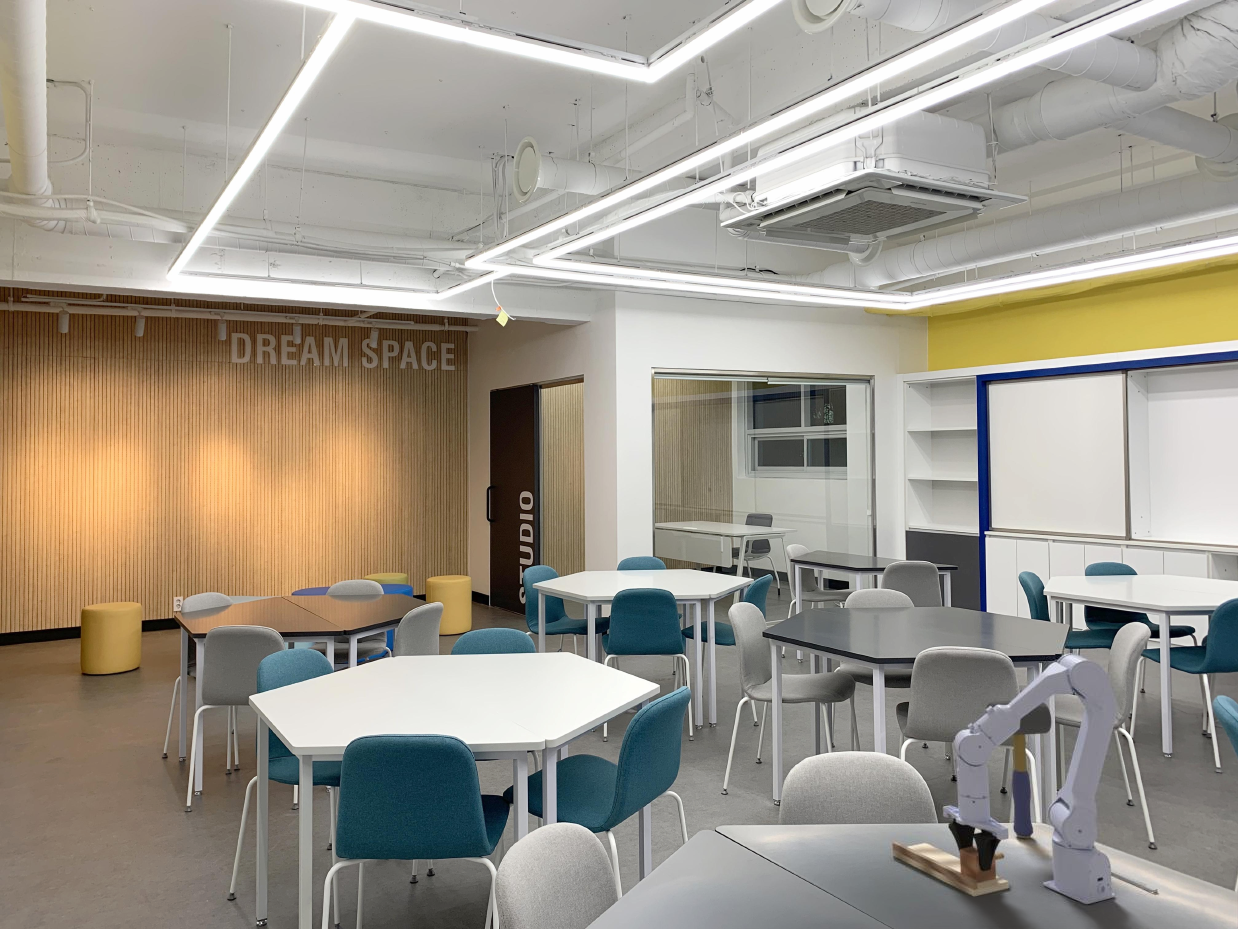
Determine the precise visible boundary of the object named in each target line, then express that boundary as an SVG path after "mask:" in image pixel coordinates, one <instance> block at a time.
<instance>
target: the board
mask: <svg viewBox="0 0 1238 929" xmlns="http://www.w3.org/2000/svg"><path fill="white" fill-rule="evenodd" d="M892 856H893V857H895V858H897V859H898V860H901V861H903V862H905V863H906V864H909V865H910V866H913V867H914V868H916V869H919V870H920V871H923V872H925V873H926V874H928V875H930V876H933V877H935V878H937V879H938V880H941V882H944V883H946V884H949V885H950V886H953V887H954V888H956V889H958V890H960V891H962V892H964V893H966V894H968V895H970V896H972V897H977V896H982V895H986V894H990V893H994V892H999V891H1002V890H1006V889H1007V890H1008V889H1009V888H1010V882H1009V880H1006V879H1005V878H1002V877H1000V876H998V875H996V879H992V880H988V881H984V882H980V883H977V880H975V879H972V878H970V877H968V876H966V875H964V874H962V873H961V867H960V857H957V856H954V855H952V854H950V853H948V852H946V851H944V850H942V849H940V848H937V847H935V846H933V845H931V844H929V843H926V842H923V843H919V844H914V845H909V846H906V845H904V844H901V843H900V842H897V841H892Z"/></svg>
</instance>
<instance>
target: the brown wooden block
mask: <svg viewBox="0 0 1238 929" xmlns="http://www.w3.org/2000/svg"><path fill="white" fill-rule="evenodd" d="M1004 858H1005V855H1004V853H1003V852H1001V853H999V852H998V853H995V854H994V857H993V861H992V865H991V870H987V871H981V870H980V866H979V857H978V850H977V846H976V845H973V846H972V847H968V848H963V849H960V852H959V859H960V867H961V873H962V874H964V875H966V876H968V877H970V878H972V879H975V880H977V883H980V882H984V881H988V880H992V879H996V876H997V870H996V867H997V866H996V865H997V864H996V861H997V860H1002V859H1004Z"/></svg>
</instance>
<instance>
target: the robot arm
mask: <svg viewBox="0 0 1238 929" xmlns="http://www.w3.org/2000/svg"><path fill="white" fill-rule="evenodd" d="M1111 682H1112V678H1111V676H1110V675H1109V674H1108V673H1107V672H1106V670H1105V669H1104V668H1103V667H1102V666H1101V665H1100V664H1099V663H1097V662H1096V661H1093V660H1089V659H1087V658H1085V657H1084V656H1082V655H1080V654H1078V653H1074V652H1073V653H1072V652H1071V653H1066V654H1064V655H1061V656H1060V657H1059V658H1058V660H1057V662H1056V661H1054V662H1052V663H1051V664H1049V665H1048V666H1047V668H1046V669H1044V670H1043V672H1042V673H1040V674H1039V675H1038V676H1037V677H1036V678H1035V679H1034V680H1032V681H1031V683H1030V684H1028V686H1026V687H1025V688H1024V689H1023V690H1022V691H1021V692H1020V693H1019V694H1018V695H1017V696H1016V697H1014V698H1013V699H1011V700H1012V701H1011V702H1010V703H1009V704H1008V705H996V706H995V707H994V708H992V707H991V706H989V707H988V708H987V709H986V708H985V714H984V715H983V716H981V717H980V718H979V719H978V720H977V721H975V722H974V723H972V722H971V723H969V724H968V725H967V728H968V729H967V728H966V729H962V730H960V731H959V732H957V733H956V735H955V737H954V738H955V739H953V741H952V747H953V748H954V751H955V752H956V754H957V755H956V759H957V760H956V766H957V768H956V779H957V780H956V782H957V807H955V806H953V805H946V806H943V807H942V815H943V817H944V818H948V819H949V818H950V819H953V820H952V822H951V823H950V822H949V823H948V824H947V826H948V829H949V831H950V833H951V834H952V836H953V837H954V841H955V843H956V846H957V848H958V853H960V849H963V848H968V847H972V846H974V842H975V846H977V850H978V857H979V866H980V870H981V871H987V870H991V865H992V861H993V857H994V854H996V850H997V849H998V846H999V844H1000V842H1001V841H1003V840H1007V839H1009V828H1008V827H1006V826H1004V825H1002V824H1000V822H998V821H996V820H995V819H993V818H992V817H991V807H990V805H991V804H990V788H989V787H990V785H989V781H990V780H989V771H988V762H989V761H990V759H991V757H992V750H995V749H996V748H997V747H998V748H999V746H1000V745H1002V744H1003V743H1004V742H1005V741H1006V740H1007V739H1009V738H1010V737H1011V736H1013V734H1014V733H1015V732H1016V731H1017V730H1018V729H1019V728H1020V719H1021V718H1022V717H1024V716H1025V715H1026V714H1028V713H1029V712H1030V711H1032V710H1033V709H1035V708H1036V707H1037V706H1039V705H1040V704H1041V703H1043V702H1044V703H1045V701H1047V700H1049V699H1050V698H1051V697H1052V696H1054V695H1073V694H1074V693H1075V695H1076V696H1077V697H1078V699H1079V701H1080V702H1081V703H1082V705H1083V706H1084V712H1083V715H1082V719H1081V723H1080V727H1079V730H1078V735H1077V739H1076V742H1075V745H1074V750H1073V753H1072V758H1071V761H1070V765H1069V768H1068V772H1067V775H1066V776H1067V777H1066V780H1065V782H1064V783H1065V784H1064V785H1063V786H1062V787H1061V788H1060V789H1059V790H1058V792H1057V795H1056V798H1055V799H1054V801H1052V803H1051V804H1050V805H1049V806H1048V808H1047V814H1046V815H1047V820H1048V821H1049V823H1050V825H1051V826H1052V827H1053V828H1054V829H1053V832H1052V834H1051V848H1052V849H1051V850H1052V874H1053V879H1052V880H1048V881H1047V880H1046V881H1044V882H1042V885H1043V886H1045V887H1047V888H1048V889H1050V890H1053V891H1055V892H1058V893H1060V894H1063V895H1065V896H1067V897H1069V898H1071V899H1073V900H1076V901H1078V902H1080V903H1082V904H1085V905H1089V904H1093V903H1094V904H1095V903H1096V902H1097V903H1098V902H1101V901H1104V900H1108V899H1111V898H1115V897H1116V894H1115V893H1114V892H1113V890H1112V888H1113V886H1112V875H1111V869H1112V867H1111V861H1110V859H1109V857H1108V856H1107V854H1106V853H1103V851H1100V850H1099V849H1098V848H1097V847H1096V845H1095V842H1096V840H1097V839H1098V827H1097V822H1096V821H1097V817H1098V810H1097V809H1098V808H1097V804H1096V799H1095V798H1096V794H1097V791H1098V786H1099V782H1100V779H1101V775H1102V772H1103V768H1104V764H1105V759H1106V756H1107V753H1108V749H1109V746H1110V741H1111V738H1112V734H1113V730H1114V727H1115V722H1116V718H1117V714H1118V710H1119V706H1118V701H1117V699H1116V696H1115V694H1114V690H1113V687H1112V683H1111ZM986 711H987V712H988V713H986ZM976 829H977V830H980V832H976V833H975V831H976Z"/></svg>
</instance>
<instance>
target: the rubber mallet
mask: <svg viewBox="0 0 1238 929" xmlns="http://www.w3.org/2000/svg"><path fill="white" fill-rule="evenodd" d="M1012 700H1013V699H1010V700H997V701H995V700H994V701H989V702H988V703H987V705H986V707H985V714H986V713H988V712H987V711H986V709H987V708H988V707H989V706H991V707H992V708H994V707H995V706H996V705H1008V704H1009V703H1010V702H1011V701H1012ZM1051 728H1052V715H1051V710H1050V709H1049V706H1048V705H1047V704H1046V703H1045V701H1044V702H1043V703H1041V704H1040V705H1039V706H1037V707H1036V708H1035V709H1033V710H1032V711H1030V712H1029V713H1028V714H1026V715H1025V716H1024V717H1022V718H1021V719H1020V728H1019V729H1018V730H1017V731H1016V732H1015V733H1014V734H1012V736H1013V738H1012V739H1013V744H1012V745H1013V766H1014V767H1013V772H1012V779H1011V780H1012V782H1011V786H1012V787H1011V791H1012V792H1011V793H1012V799H1013V804H1014V805H1013V806H1014V808H1013V809H1014V821H1013V831H1014V833H1015V835H1016V837H1018V838H1019V839H1030V838H1031V837H1032V835H1033V833H1034V827H1033V824H1032V820H1031V816H1032V815H1031V799H1032V798H1031V797H1032V790H1031V780H1030V774H1029V771H1028V768H1027V767H1028V766H1027V751H1026V750H1027V749H1026V735H1040V734H1041V735H1042V734H1048V733H1050V731H1051Z"/></svg>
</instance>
